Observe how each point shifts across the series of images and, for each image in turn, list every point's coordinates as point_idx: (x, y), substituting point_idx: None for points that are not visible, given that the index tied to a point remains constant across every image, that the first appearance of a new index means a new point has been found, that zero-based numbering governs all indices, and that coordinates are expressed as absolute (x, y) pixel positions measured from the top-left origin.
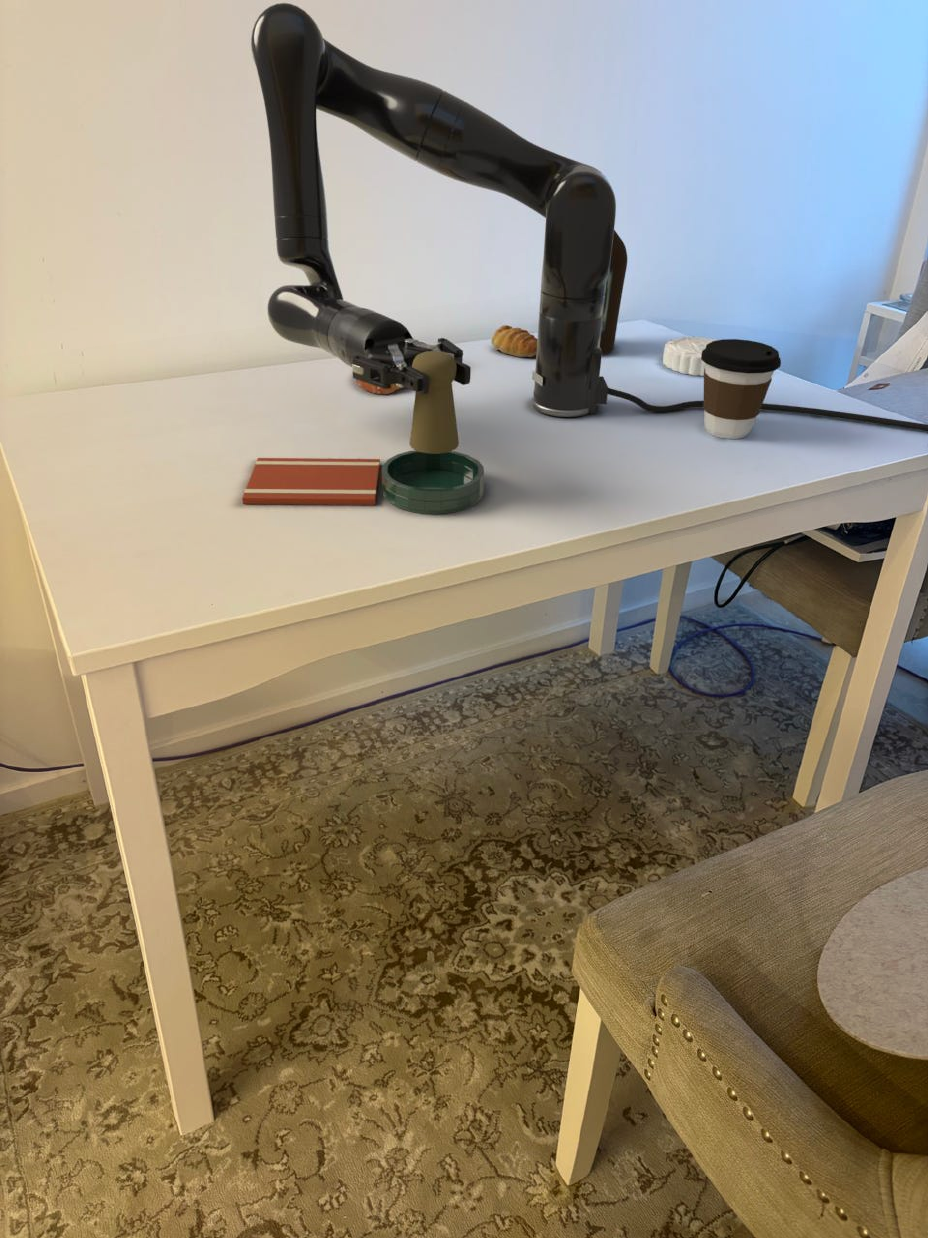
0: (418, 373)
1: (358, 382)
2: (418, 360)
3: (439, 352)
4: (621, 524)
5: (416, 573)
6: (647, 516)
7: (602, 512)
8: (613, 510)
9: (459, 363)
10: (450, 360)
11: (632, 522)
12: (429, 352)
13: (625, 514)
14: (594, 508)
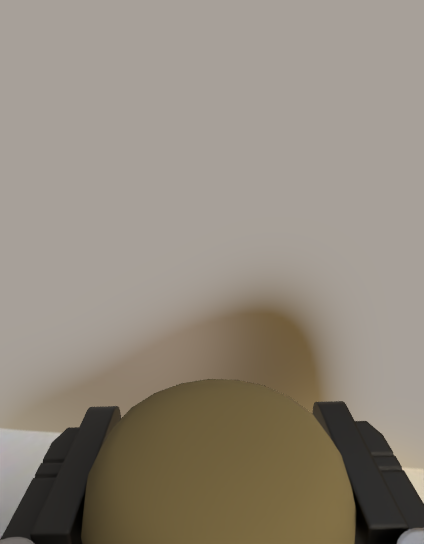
0: (353, 426)
1: None
2: (328, 448)
3: (171, 431)
4: (56, 437)
5: (405, 470)
6: (8, 436)
7: (33, 472)
8: (15, 469)
9: (92, 441)
10: (174, 386)
11: (40, 434)
12: (225, 455)
13: (19, 453)
14: (26, 488)
